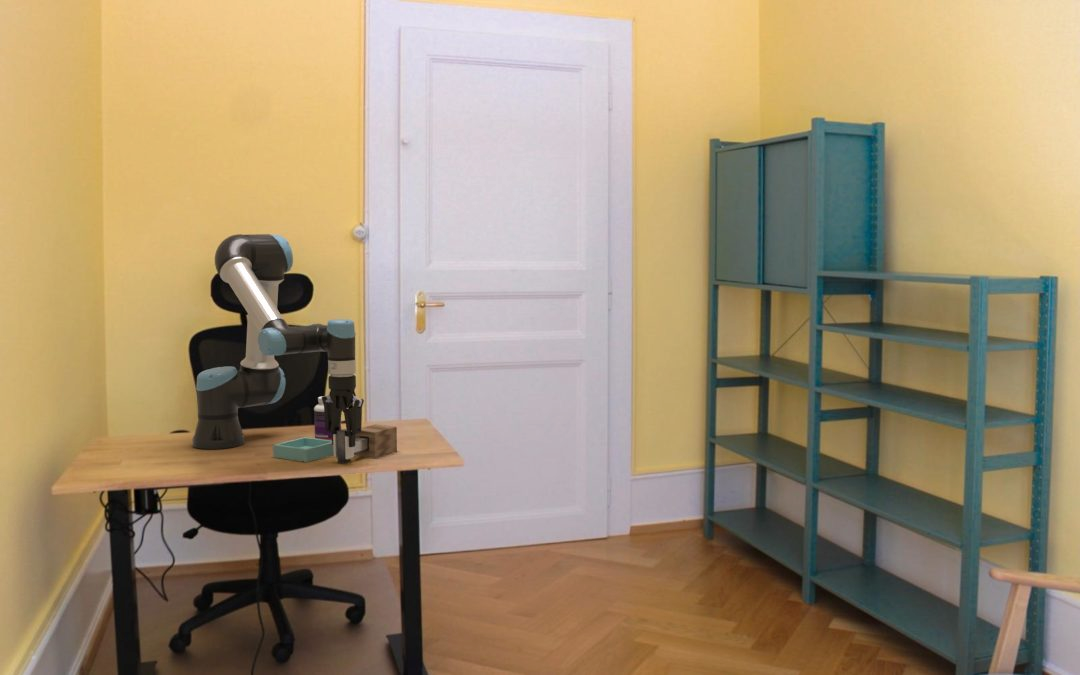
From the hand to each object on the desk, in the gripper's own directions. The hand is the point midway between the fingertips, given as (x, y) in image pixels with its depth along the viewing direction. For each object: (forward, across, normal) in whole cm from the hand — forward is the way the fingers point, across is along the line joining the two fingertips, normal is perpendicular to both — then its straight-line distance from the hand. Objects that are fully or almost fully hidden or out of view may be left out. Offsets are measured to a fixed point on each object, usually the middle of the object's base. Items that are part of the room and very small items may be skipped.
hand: (343, 457), depth 270 cm
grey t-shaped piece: (+1, 0, +7) cm, 7 cm away
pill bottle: (+2, -22, +18) cm, 28 cm away
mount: (+2, 0, +14) cm, 14 cm away
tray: (+2, -16, +2) cm, 16 cm away
